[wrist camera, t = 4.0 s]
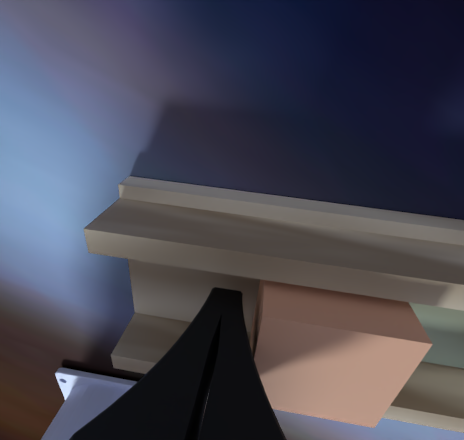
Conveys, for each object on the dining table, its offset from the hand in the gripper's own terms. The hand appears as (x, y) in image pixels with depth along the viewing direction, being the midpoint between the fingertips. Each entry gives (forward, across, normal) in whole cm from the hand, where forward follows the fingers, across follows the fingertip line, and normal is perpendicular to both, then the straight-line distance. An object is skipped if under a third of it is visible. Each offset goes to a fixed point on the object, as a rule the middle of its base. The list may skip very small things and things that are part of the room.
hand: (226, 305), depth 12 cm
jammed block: (+1, -4, 0) cm, 4 cm away
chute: (+2, -6, 0) cm, 6 cm away
